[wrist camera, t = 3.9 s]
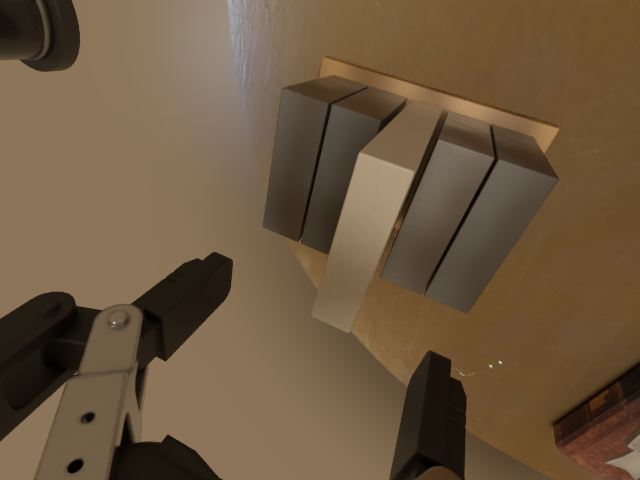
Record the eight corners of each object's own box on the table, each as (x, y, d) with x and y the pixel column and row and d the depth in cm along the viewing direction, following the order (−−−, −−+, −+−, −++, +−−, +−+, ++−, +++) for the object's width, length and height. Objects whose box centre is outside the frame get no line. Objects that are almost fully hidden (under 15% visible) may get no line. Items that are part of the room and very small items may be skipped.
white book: (373, 210, 31) (310, 316, 19) (412, 99, 26) (358, 151, 14) (397, 219, 31) (348, 334, 19) (443, 108, 25) (415, 171, 13)
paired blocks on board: (300, 187, 34) (247, 232, 26) (326, 56, 28) (266, 63, 20) (477, 255, 31) (478, 331, 23) (557, 125, 24) (598, 168, 16)
